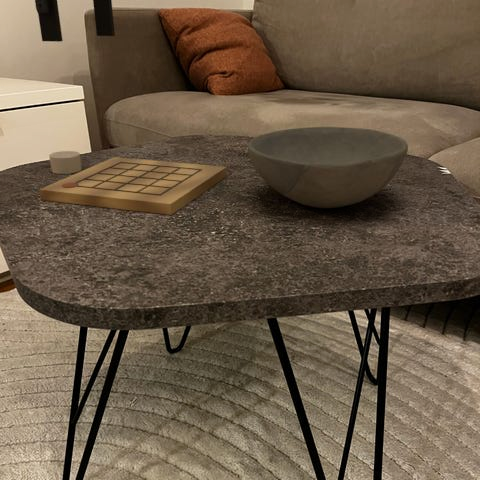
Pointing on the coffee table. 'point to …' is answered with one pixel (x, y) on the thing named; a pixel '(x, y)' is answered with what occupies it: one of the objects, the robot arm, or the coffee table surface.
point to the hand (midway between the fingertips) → (80, 38)
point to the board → (136, 185)
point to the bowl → (327, 163)
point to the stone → (65, 162)
